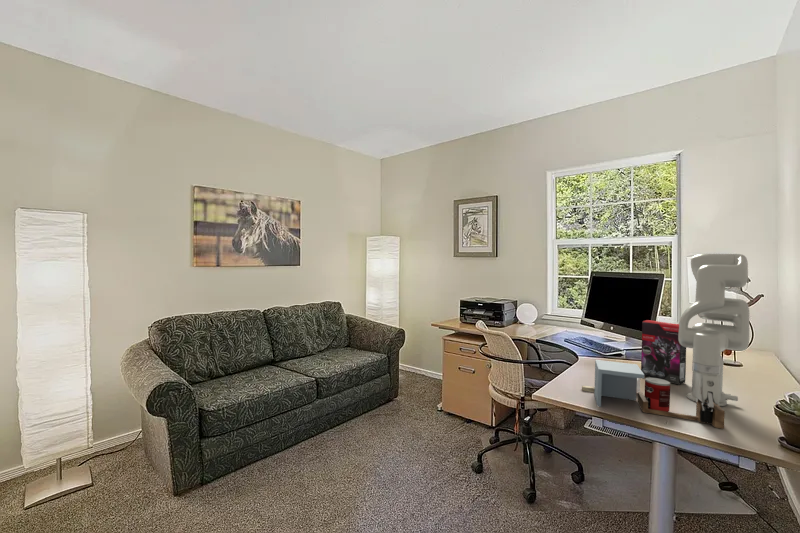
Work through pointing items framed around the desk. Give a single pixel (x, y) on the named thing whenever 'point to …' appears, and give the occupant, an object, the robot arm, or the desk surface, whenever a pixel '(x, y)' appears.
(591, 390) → the dowel
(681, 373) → the graphics card box
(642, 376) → the cubby
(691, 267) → the robot arm
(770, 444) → the desk surface
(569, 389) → the desk surface
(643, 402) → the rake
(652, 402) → the canned food
